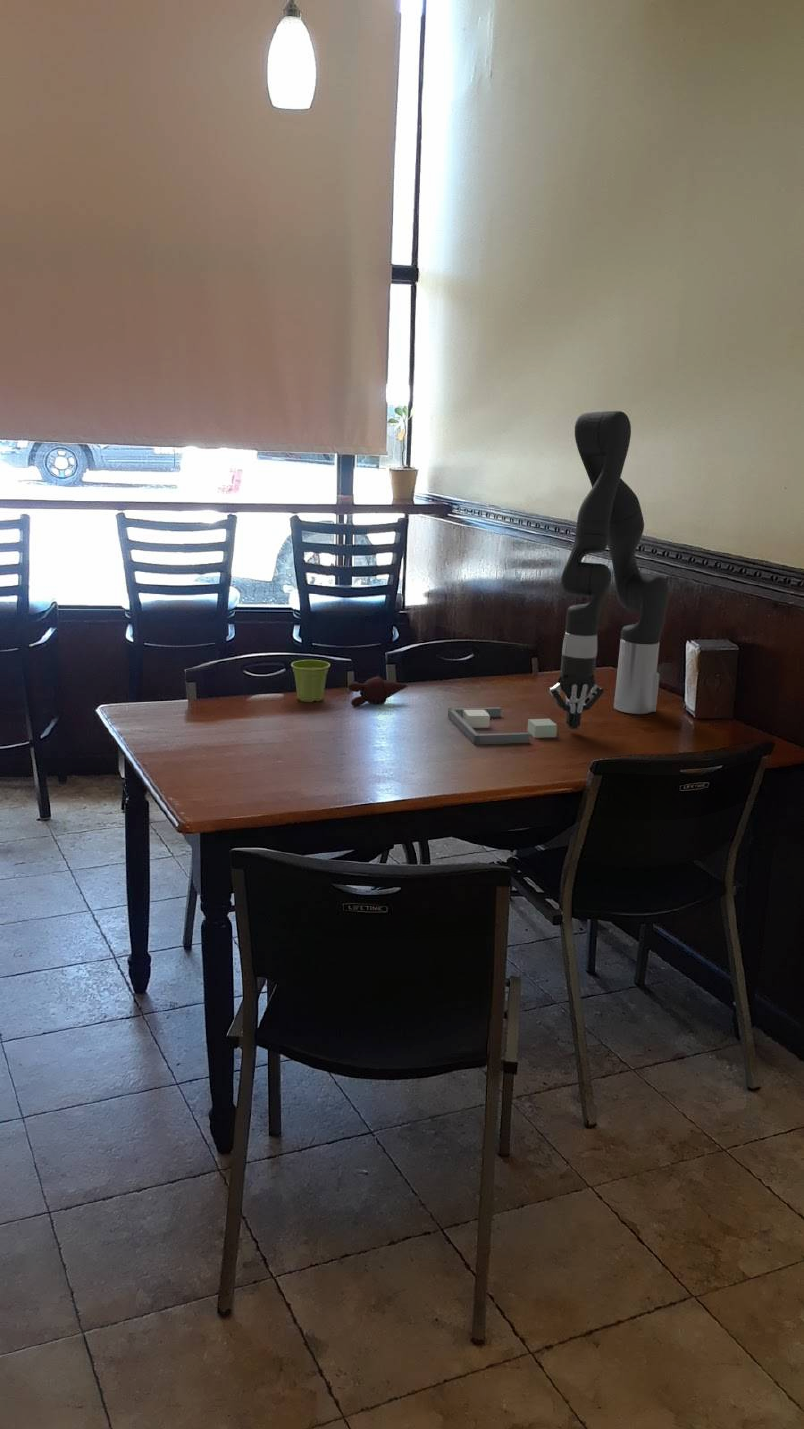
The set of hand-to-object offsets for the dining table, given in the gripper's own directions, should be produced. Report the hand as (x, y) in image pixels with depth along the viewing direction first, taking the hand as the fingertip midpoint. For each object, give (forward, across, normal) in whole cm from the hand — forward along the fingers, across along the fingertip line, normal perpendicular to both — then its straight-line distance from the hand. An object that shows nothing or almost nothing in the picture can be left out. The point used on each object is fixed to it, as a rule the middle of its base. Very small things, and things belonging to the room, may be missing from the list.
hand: (572, 727), depth 251 cm
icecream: (+2, +39, -28) cm, 48 cm away
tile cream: (+2, +20, -8) cm, 22 cm away
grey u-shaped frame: (+1, +18, -4) cm, 19 cm away
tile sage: (+1, +7, 0) cm, 7 cm away
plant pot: (+2, +54, -33) cm, 64 cm away
